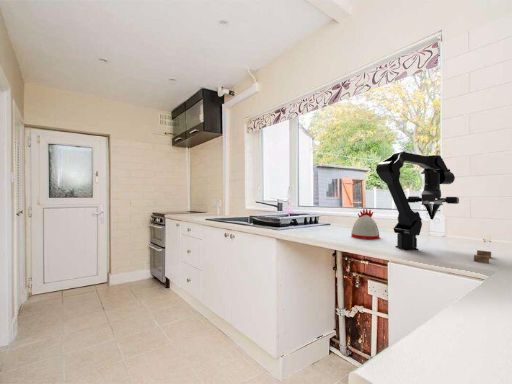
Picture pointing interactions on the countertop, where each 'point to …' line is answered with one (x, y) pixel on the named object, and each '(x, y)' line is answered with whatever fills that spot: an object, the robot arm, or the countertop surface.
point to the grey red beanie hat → (365, 227)
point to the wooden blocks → (482, 256)
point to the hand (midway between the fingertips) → (432, 219)
